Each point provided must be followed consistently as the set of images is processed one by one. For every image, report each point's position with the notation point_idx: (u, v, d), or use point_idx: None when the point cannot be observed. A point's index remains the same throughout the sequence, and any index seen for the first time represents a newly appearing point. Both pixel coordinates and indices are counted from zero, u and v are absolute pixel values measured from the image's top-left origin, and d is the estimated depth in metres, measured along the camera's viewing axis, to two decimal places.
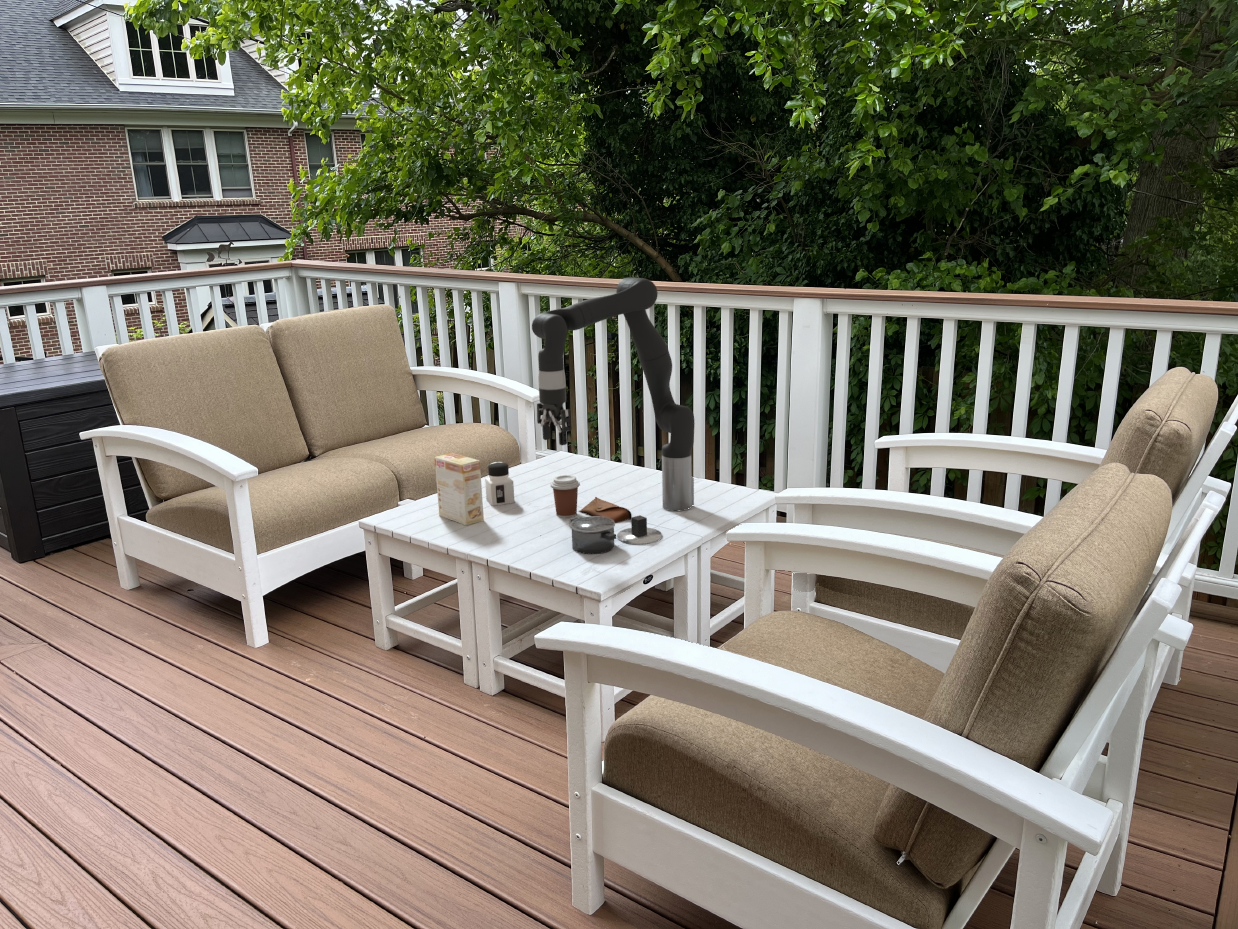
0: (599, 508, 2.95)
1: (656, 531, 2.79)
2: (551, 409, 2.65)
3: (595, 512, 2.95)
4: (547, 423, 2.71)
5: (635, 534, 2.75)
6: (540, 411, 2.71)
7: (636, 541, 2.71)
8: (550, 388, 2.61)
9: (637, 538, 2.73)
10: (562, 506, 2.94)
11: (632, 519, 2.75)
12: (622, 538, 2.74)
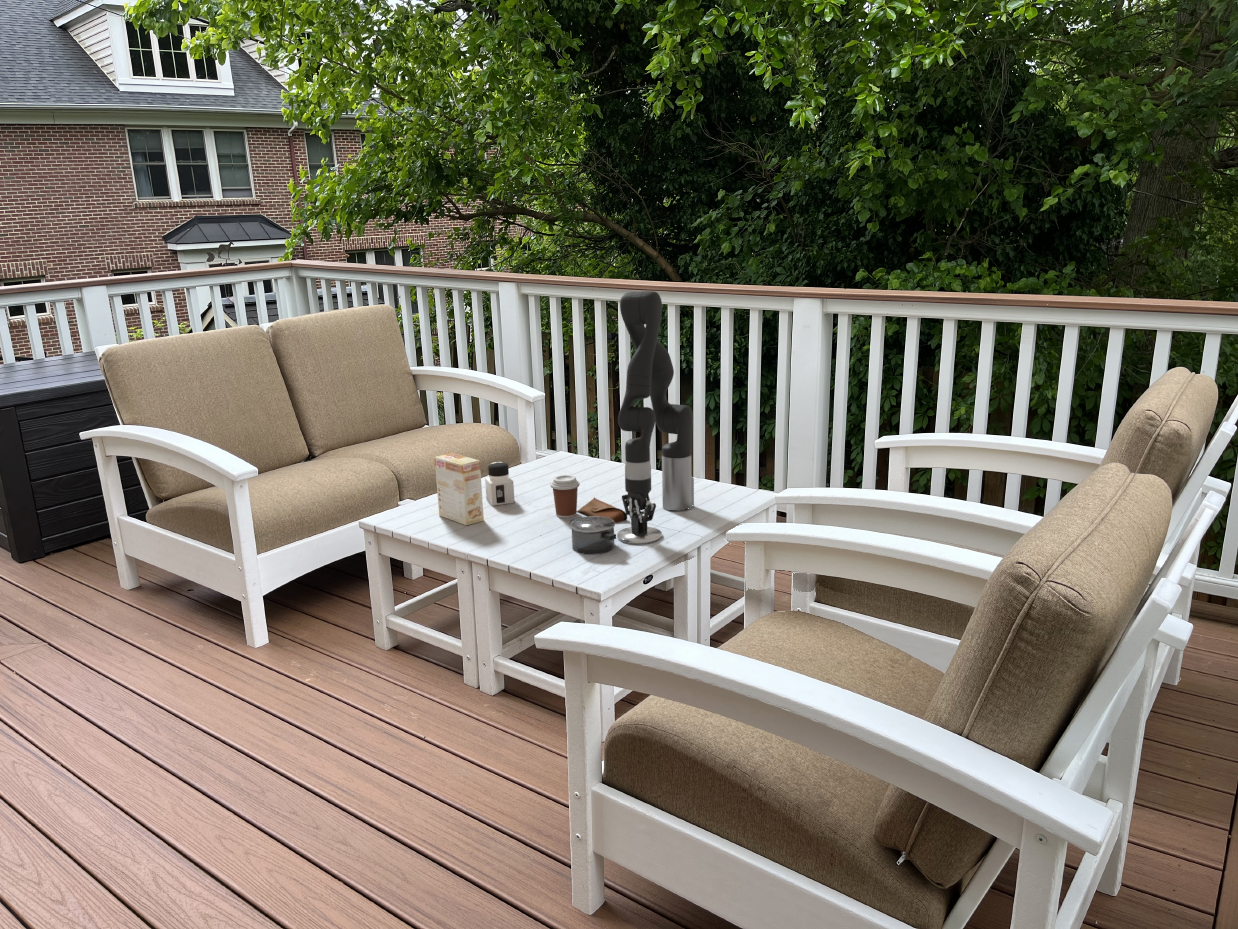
0: (595, 509, 2.94)
1: (656, 530, 2.78)
2: (637, 498, 2.72)
3: (592, 512, 2.94)
4: (635, 514, 2.77)
5: (635, 533, 2.75)
6: (626, 502, 2.77)
7: (636, 540, 2.71)
8: (637, 479, 2.68)
9: (637, 537, 2.73)
10: (562, 506, 2.94)
11: (632, 518, 2.75)
12: (622, 537, 2.74)
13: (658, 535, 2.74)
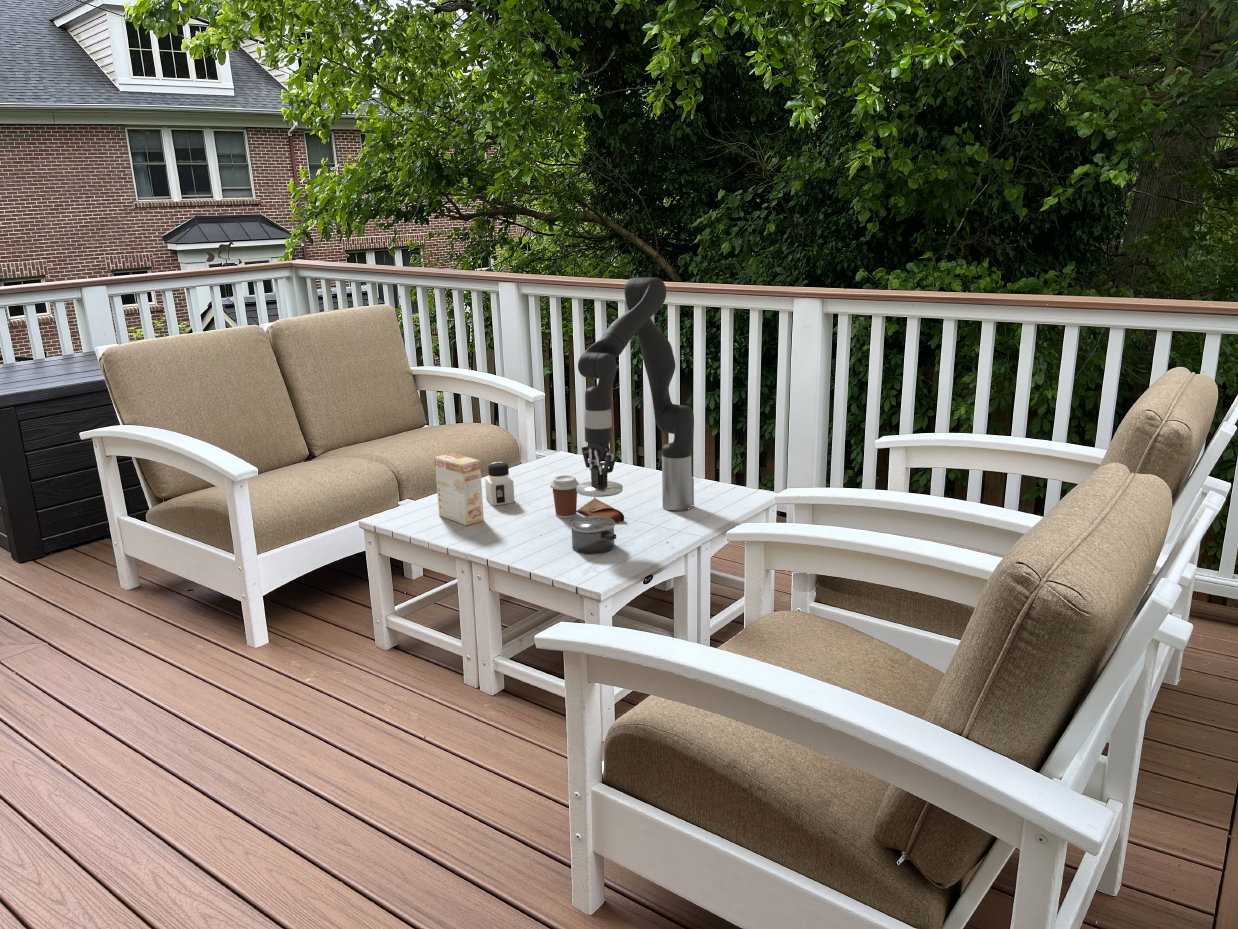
0: (593, 509, 2.94)
1: (617, 484, 2.68)
2: (597, 448, 2.61)
3: (590, 512, 2.94)
4: (596, 466, 2.66)
5: (595, 486, 2.64)
6: (586, 454, 2.67)
7: (596, 492, 2.60)
8: (597, 427, 2.58)
9: (597, 490, 2.62)
10: (562, 506, 2.94)
11: (592, 470, 2.64)
12: (581, 489, 2.63)
13: (619, 488, 2.64)
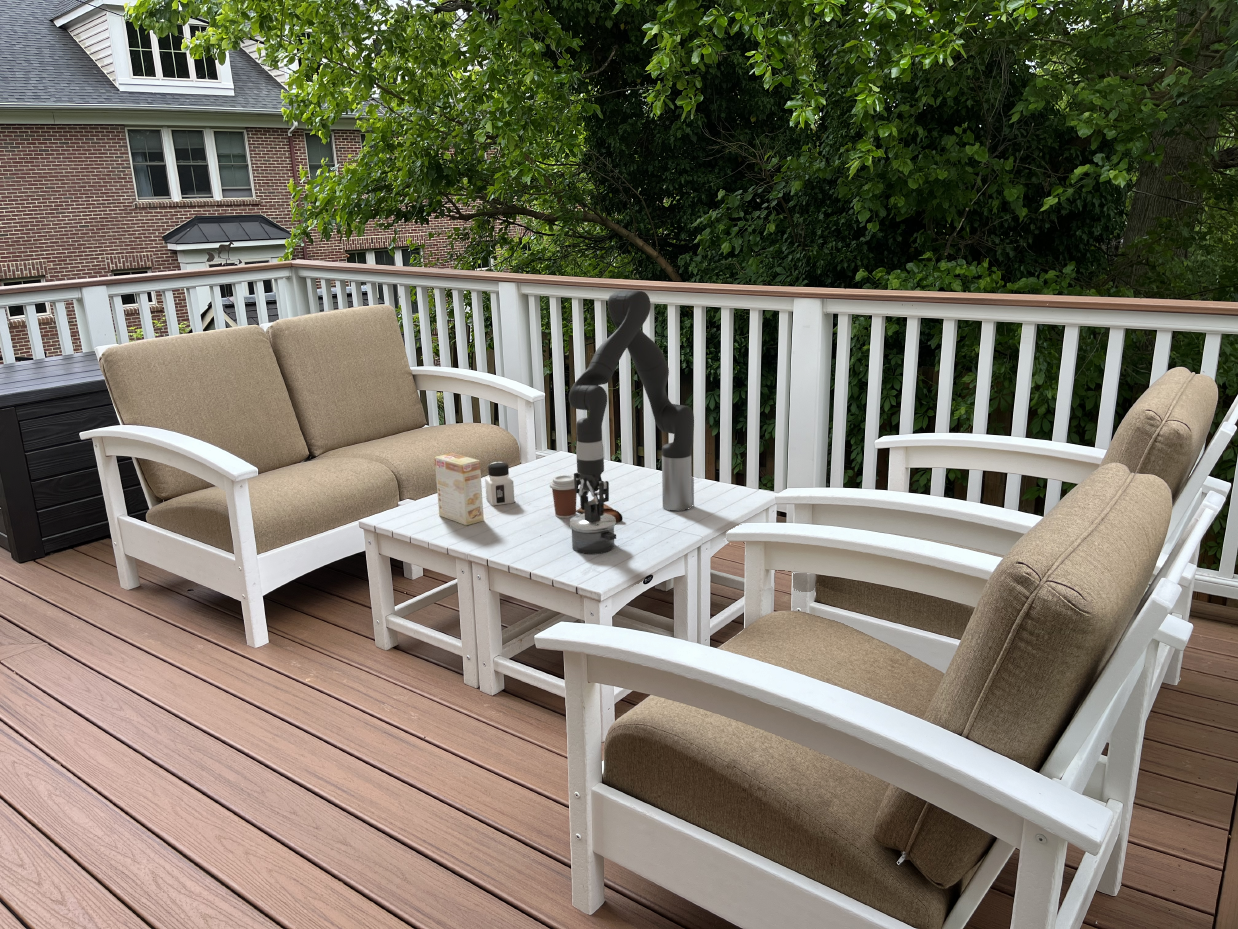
0: None
1: (610, 516, 2.70)
2: (589, 479, 2.63)
3: None
4: (585, 493, 2.69)
5: (588, 519, 2.66)
6: (577, 481, 2.69)
7: (589, 526, 2.62)
8: (588, 459, 2.59)
9: (590, 524, 2.64)
10: (561, 506, 2.94)
11: (585, 504, 2.66)
12: (575, 523, 2.65)
13: (612, 521, 2.66)
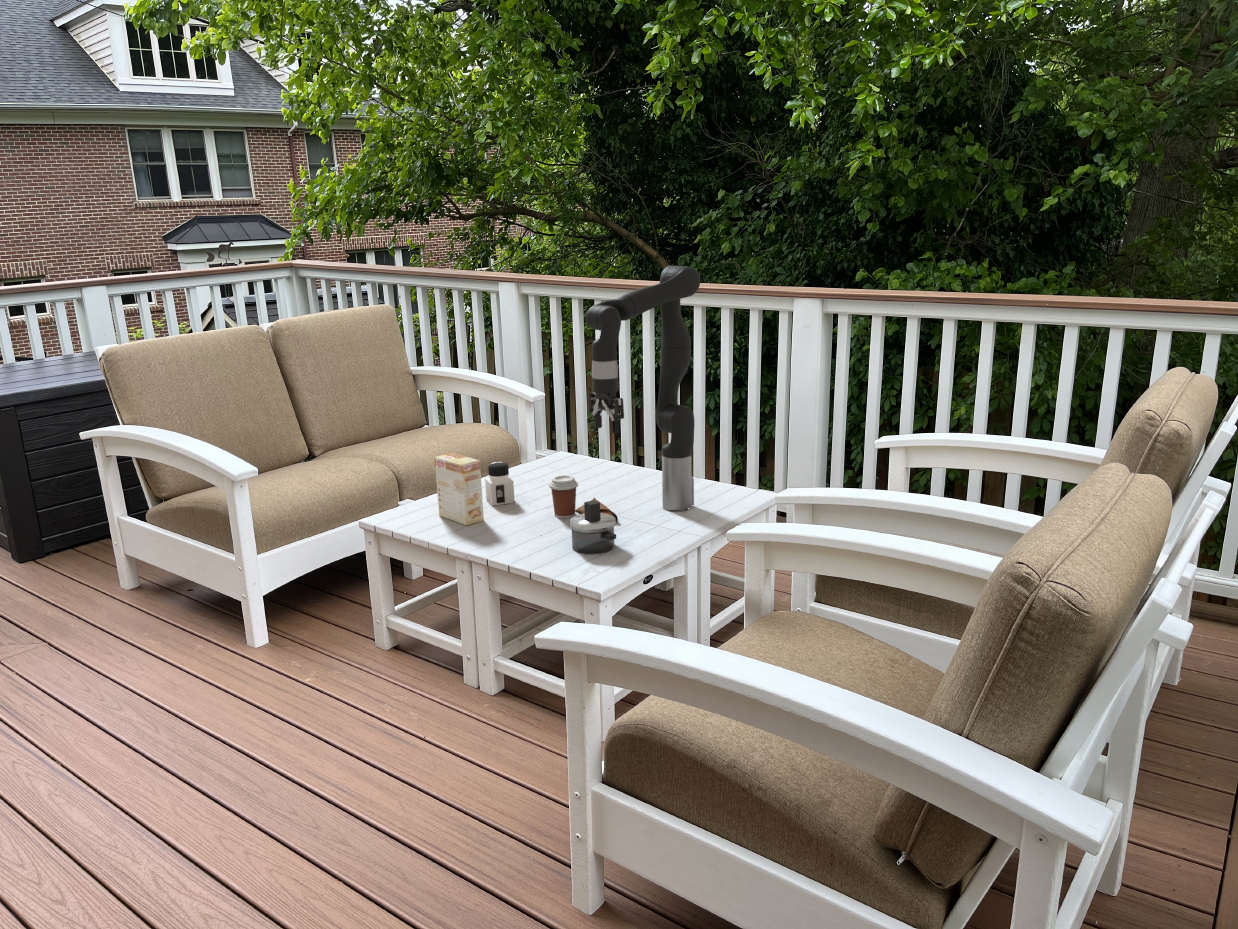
0: None
1: (610, 516, 2.70)
2: (604, 398, 2.73)
3: None
4: (599, 412, 2.79)
5: (588, 519, 2.66)
6: (592, 400, 2.79)
7: (589, 526, 2.62)
8: (604, 378, 2.69)
9: (590, 524, 2.64)
10: (560, 506, 2.93)
11: (585, 504, 2.66)
12: (575, 523, 2.65)
13: (612, 521, 2.66)
